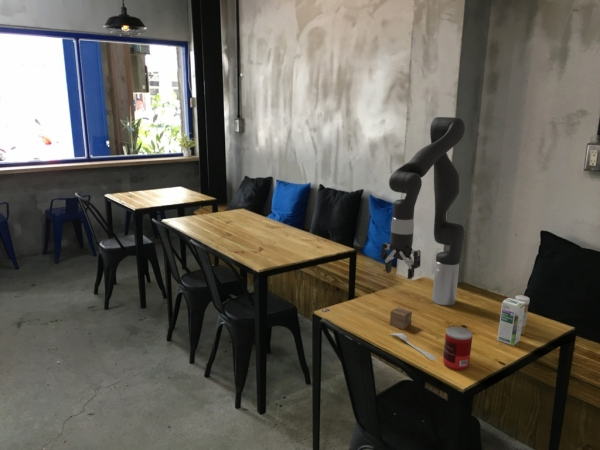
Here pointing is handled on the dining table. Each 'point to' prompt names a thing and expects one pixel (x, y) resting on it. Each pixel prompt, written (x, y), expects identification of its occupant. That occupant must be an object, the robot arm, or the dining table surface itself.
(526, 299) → the sprinkles bottle
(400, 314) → the walnut cube
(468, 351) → the canned food
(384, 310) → the dining table surface
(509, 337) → the syrup box
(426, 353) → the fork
